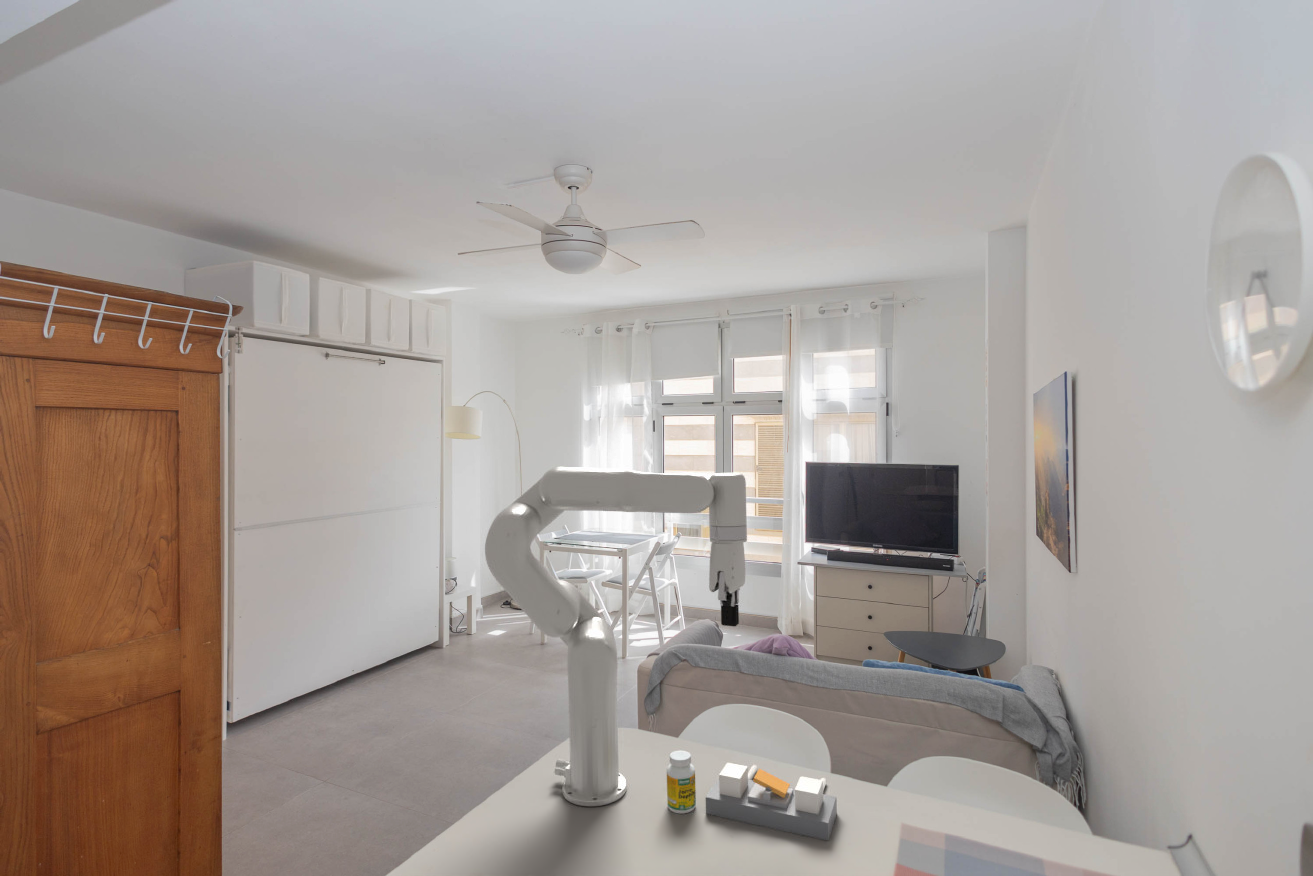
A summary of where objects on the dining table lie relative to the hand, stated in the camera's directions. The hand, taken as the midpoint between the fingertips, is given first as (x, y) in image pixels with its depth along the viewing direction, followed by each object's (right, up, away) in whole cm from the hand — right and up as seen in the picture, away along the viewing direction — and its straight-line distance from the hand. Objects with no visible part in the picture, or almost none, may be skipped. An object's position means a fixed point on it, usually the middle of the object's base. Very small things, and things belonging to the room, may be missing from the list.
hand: (730, 624), depth 132 cm
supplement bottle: (-10, -31, -10) cm, 34 cm away
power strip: (+8, -31, -8) cm, 33 cm away
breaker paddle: (+6, -26, -13) cm, 29 cm away
